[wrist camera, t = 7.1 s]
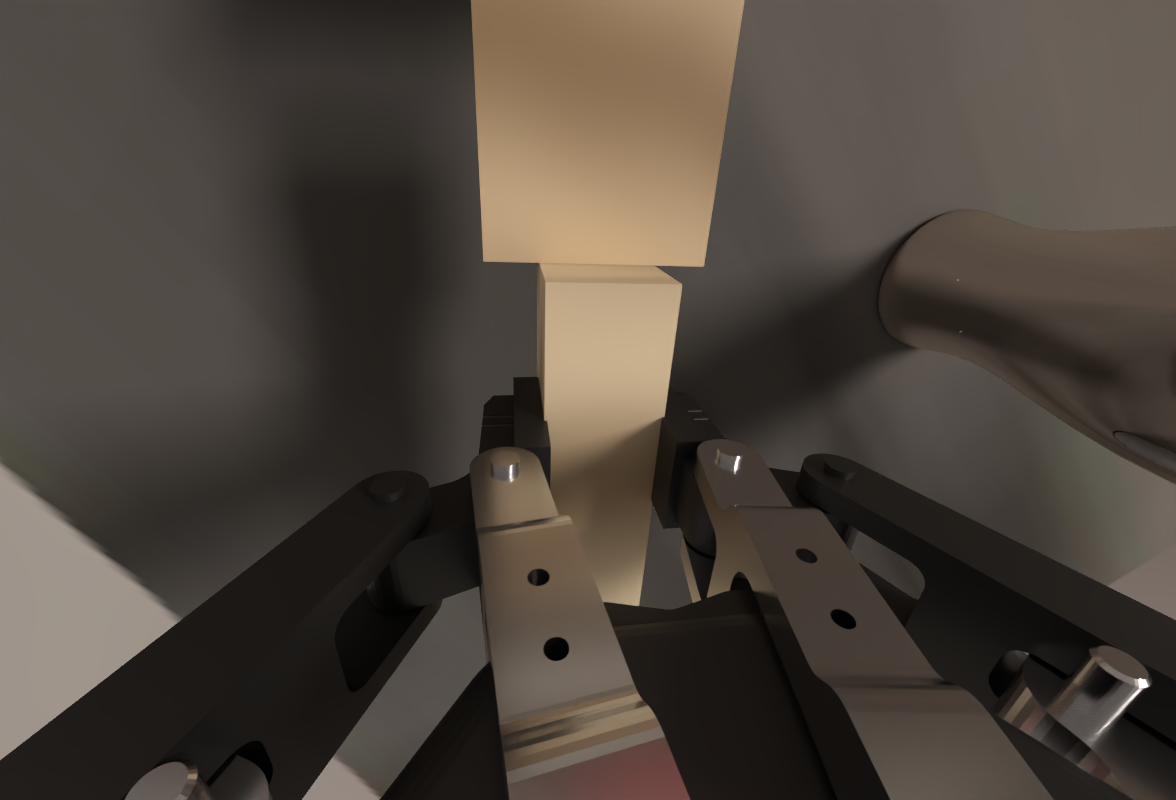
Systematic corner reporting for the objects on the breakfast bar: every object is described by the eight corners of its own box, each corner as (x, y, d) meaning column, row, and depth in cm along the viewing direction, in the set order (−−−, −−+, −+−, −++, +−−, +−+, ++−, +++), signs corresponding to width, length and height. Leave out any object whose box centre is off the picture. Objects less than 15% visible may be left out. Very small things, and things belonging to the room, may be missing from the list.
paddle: (647, 557, 16) (674, 634, 13) (500, 569, 15) (498, 653, 13) (733, -58, 9) (825, -153, 6) (469, -95, 8) (451, -219, 6)
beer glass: (1010, 165, 19) (2118, 161, 6) (1016, 309, 22) (1747, 515, 9) (853, 249, 20) (1539, 414, 7) (881, 377, 23) (1381, 662, 10)
